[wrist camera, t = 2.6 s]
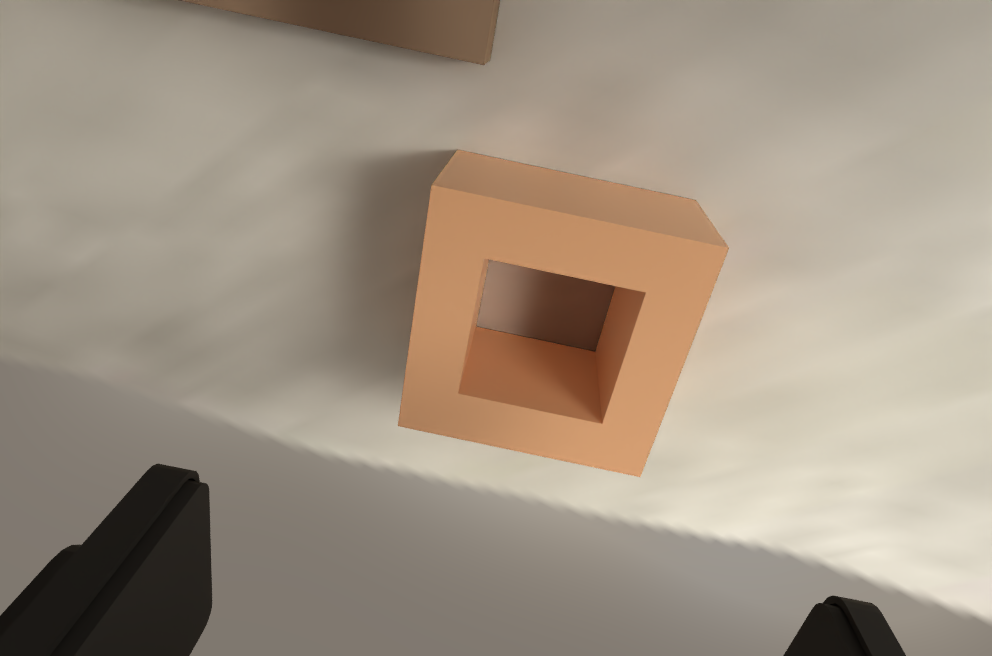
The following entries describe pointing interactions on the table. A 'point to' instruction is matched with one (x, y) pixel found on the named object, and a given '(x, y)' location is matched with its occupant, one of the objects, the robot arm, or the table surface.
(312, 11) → the post stand
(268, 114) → the table surface
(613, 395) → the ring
